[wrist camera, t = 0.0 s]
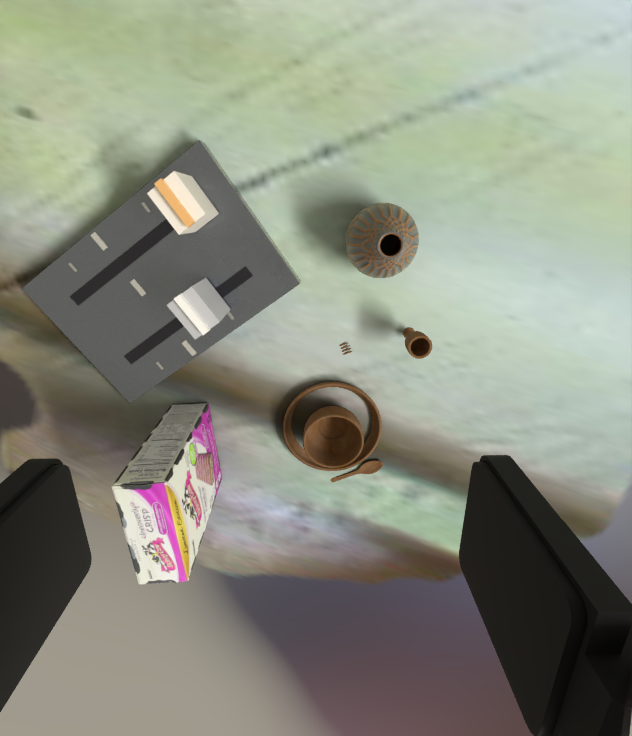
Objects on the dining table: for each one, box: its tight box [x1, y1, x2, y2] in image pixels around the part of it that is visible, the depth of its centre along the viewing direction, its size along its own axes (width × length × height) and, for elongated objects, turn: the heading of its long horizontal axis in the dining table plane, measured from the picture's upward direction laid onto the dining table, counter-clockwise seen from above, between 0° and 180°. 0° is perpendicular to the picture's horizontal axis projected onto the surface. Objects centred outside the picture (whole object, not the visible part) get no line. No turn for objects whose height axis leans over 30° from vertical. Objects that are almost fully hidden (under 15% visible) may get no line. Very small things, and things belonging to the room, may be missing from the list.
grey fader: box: [167, 278, 230, 339], centre depth 40 cm, size 4×3×6 cm
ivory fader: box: [147, 171, 219, 235], centre depth 37 cm, size 4×3×6 cm
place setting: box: [283, 327, 432, 482], centre depth 48 cm, size 18×20×6 cm
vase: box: [345, 203, 419, 278], centre depth 39 cm, size 7×7×9 cm
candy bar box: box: [112, 403, 222, 584], centre depth 44 cm, size 11×5×16 cm, turn 4°
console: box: [22, 140, 300, 403], centre depth 44 cm, size 16×24×2 cm, turn 125°
